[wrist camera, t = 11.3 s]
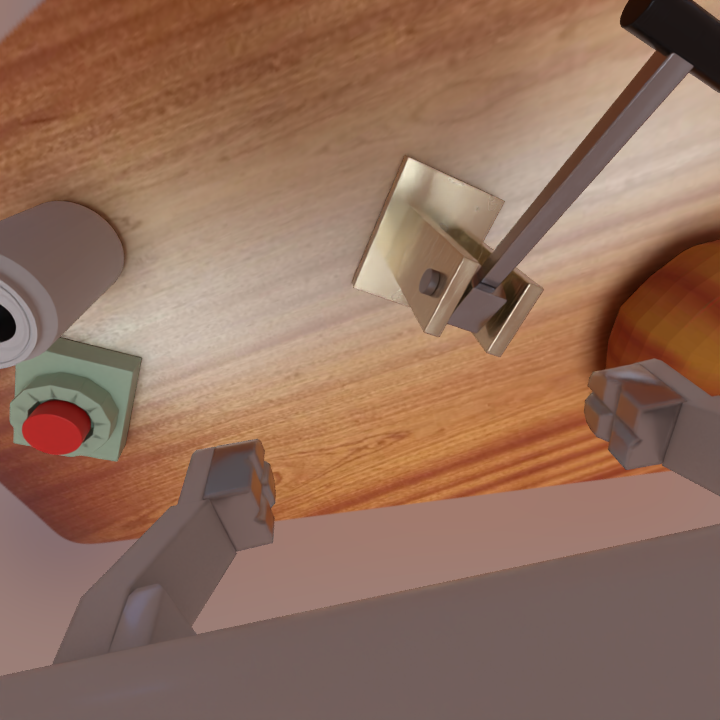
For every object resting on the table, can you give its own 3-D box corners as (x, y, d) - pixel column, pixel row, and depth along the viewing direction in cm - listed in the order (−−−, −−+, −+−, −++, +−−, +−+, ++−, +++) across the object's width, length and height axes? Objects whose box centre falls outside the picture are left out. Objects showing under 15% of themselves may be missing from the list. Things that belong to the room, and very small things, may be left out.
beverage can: (129, 294, 33) (53, 383, 22) (33, 279, 31) (-95, 367, 21) (126, 209, 29) (36, 268, 19) (20, 188, 28) (-138, 240, 18)
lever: (642, -32, 14) (676, -18, 13) (740, 40, 16) (780, 61, 14) (418, 287, 25) (421, 315, 23) (489, 312, 26) (496, 341, 25)
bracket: (404, 154, 30) (465, 187, 19) (498, 198, 32) (600, 249, 21) (351, 282, 34) (376, 368, 23) (437, 312, 37) (496, 402, 26)
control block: (31, 330, 33) (1, 356, 30) (142, 357, 35) (125, 385, 32) (27, 426, 38) (0, 458, 34) (125, 445, 40) (109, 477, 36)
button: (34, 394, 32) (22, 408, 30) (94, 406, 33) (84, 421, 32) (32, 433, 34) (20, 449, 32) (88, 444, 35) (79, 459, 33)
